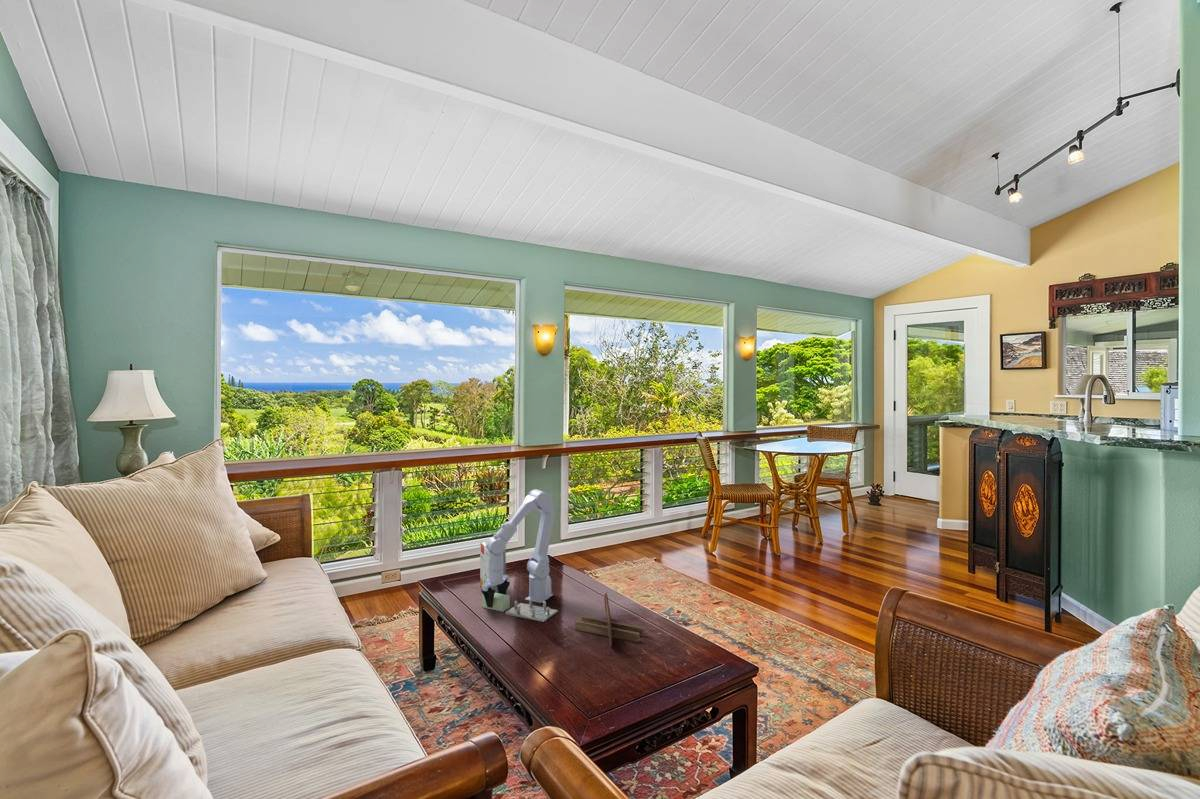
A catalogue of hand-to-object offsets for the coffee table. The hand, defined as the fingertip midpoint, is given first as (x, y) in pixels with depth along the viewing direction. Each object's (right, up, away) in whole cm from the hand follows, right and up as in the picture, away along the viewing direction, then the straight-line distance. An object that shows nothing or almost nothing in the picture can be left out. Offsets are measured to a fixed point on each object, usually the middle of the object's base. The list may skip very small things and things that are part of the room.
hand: (495, 603), depth 215 cm
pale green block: (0, -2, 0) cm, 2 cm away
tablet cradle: (+44, -2, -24) cm, 50 cm away
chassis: (+15, -2, -6) cm, 16 cm away
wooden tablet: (+44, -2, -23) cm, 50 cm away
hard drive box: (-5, -2, +18) cm, 19 cm away
